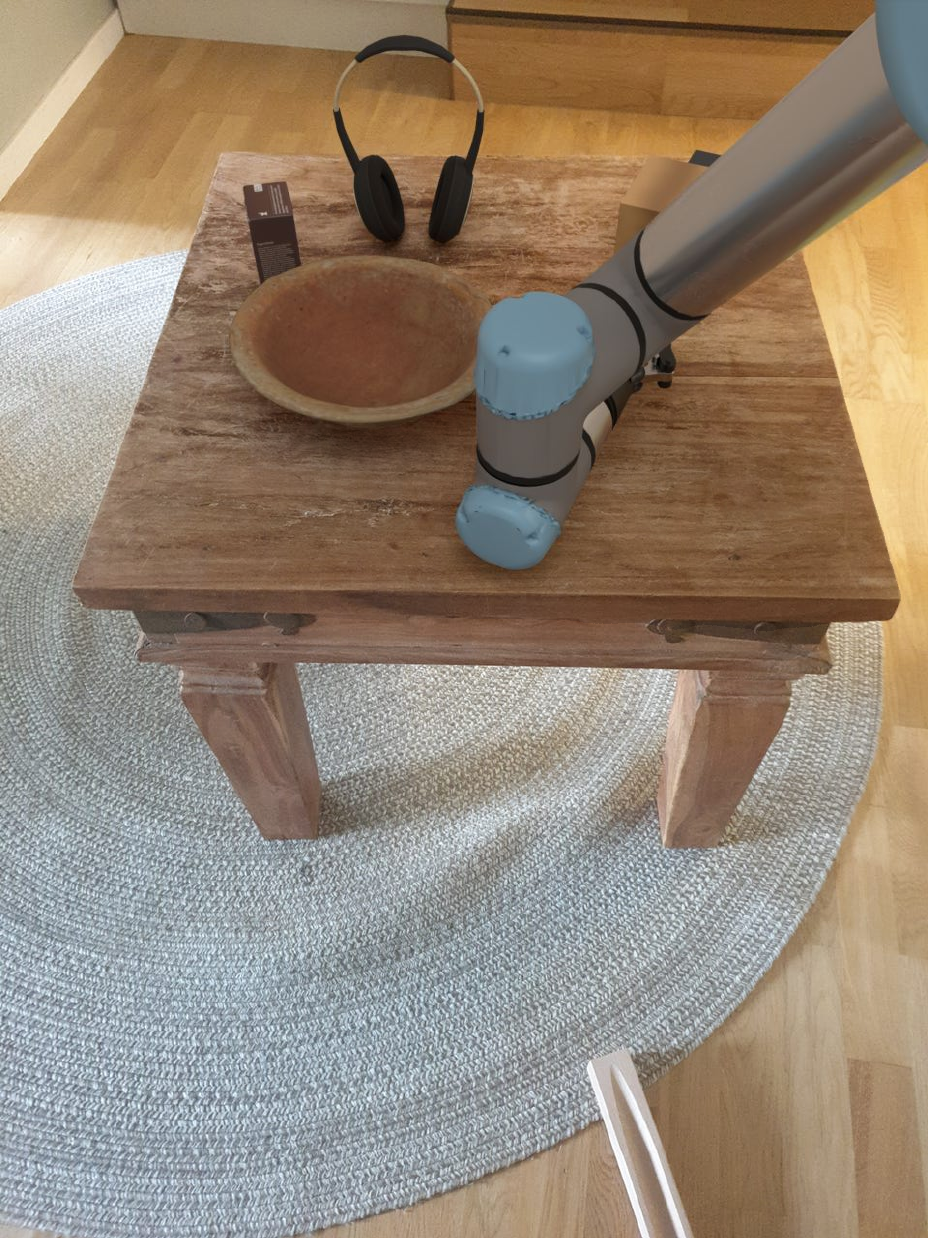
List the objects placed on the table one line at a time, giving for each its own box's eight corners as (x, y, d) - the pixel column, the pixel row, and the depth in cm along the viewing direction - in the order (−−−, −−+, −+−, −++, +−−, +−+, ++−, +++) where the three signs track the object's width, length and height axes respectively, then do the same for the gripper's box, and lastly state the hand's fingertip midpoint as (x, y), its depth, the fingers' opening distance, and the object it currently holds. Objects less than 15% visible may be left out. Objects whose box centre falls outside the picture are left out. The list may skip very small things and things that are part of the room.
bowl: (526, 463, 81) (530, 393, 75) (255, 504, 79) (234, 436, 72) (475, 298, 94) (474, 226, 88) (242, 330, 92) (223, 258, 86)
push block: (719, 265, 96) (740, 173, 88) (694, 316, 92) (714, 224, 84) (637, 245, 99) (650, 154, 91) (608, 294, 94) (620, 202, 86)
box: (314, 325, 92) (293, 213, 82) (269, 332, 92) (243, 221, 82) (307, 289, 96) (286, 177, 86) (263, 295, 95) (237, 184, 85)
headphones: (483, 260, 98) (482, 59, 81) (345, 258, 99) (316, 58, 82) (486, 214, 103) (486, 15, 86) (354, 212, 103) (329, 15, 87)
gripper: (497, 421, 81) (593, 269, 92) (640, 466, 77) (720, 302, 89) (498, 352, 74) (601, 199, 86) (654, 398, 71) (738, 231, 83)
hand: (661, 251), depth 88 cm, fingers closed
